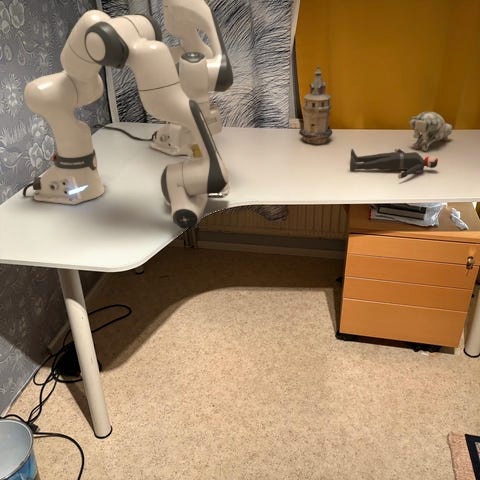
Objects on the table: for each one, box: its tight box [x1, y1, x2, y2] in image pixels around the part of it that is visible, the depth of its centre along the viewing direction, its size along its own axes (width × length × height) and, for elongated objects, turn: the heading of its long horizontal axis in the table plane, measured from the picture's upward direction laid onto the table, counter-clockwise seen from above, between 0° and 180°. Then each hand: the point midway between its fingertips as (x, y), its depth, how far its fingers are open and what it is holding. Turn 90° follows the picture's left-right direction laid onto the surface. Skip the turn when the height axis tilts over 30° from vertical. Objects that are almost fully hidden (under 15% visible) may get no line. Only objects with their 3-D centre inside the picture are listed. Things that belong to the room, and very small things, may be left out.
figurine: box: [408, 111, 453, 152], centre depth 210 cm, size 10×19×20 cm
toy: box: [349, 148, 439, 180], centre depth 190 cm, size 26×6×30 cm
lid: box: [190, 144, 202, 157], centre depth 168 cm, size 5×5×2 cm
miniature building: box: [298, 65, 333, 145], centre depth 213 cm, size 13×14×30 cm
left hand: (199, 177), depth 173 cm, fingers closed on jar, 5 cm apart
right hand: (198, 153), depth 168 cm, fingers closed on lid, 5 cm apart
